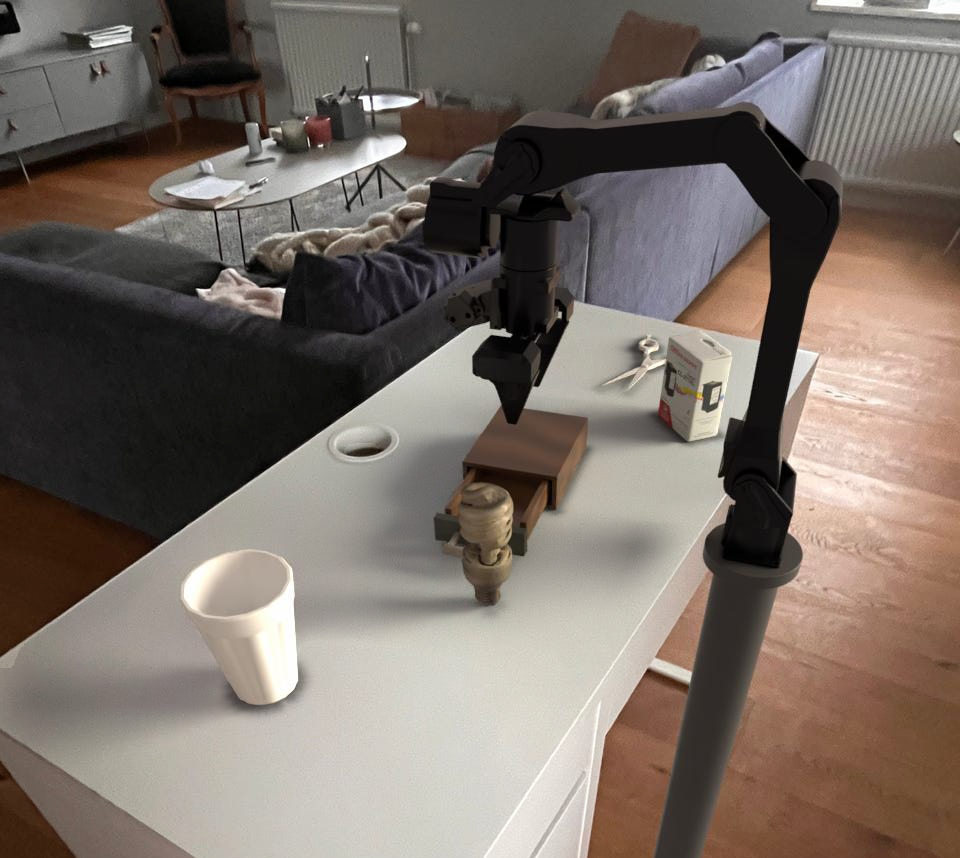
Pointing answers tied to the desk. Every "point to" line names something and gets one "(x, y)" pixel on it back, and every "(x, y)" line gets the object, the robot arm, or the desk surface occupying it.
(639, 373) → the scissors
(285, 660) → the cup
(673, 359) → the ink box
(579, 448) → the cabinet
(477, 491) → the light bulb
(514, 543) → the drawer
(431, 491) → the desk surface
